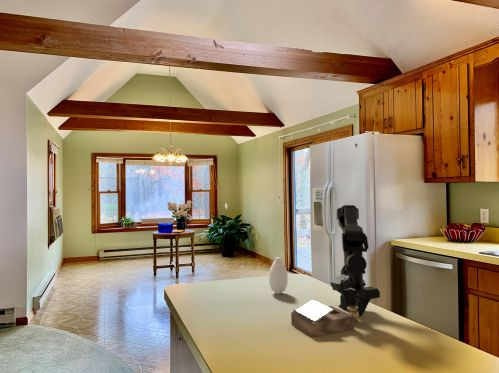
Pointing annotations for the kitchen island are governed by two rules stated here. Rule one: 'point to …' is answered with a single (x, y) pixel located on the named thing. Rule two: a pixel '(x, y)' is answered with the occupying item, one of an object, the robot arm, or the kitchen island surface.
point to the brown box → (323, 322)
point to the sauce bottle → (278, 276)
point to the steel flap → (314, 310)
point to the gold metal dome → (353, 311)
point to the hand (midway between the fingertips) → (354, 313)
